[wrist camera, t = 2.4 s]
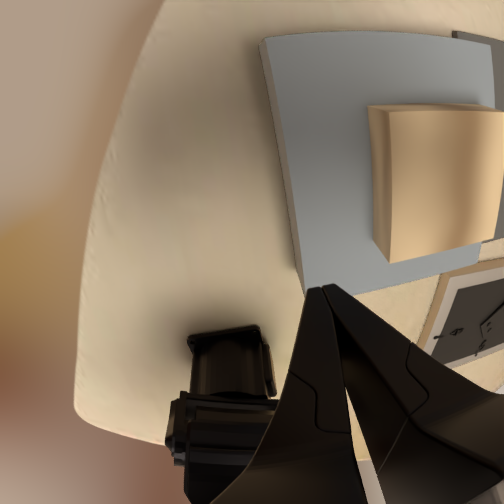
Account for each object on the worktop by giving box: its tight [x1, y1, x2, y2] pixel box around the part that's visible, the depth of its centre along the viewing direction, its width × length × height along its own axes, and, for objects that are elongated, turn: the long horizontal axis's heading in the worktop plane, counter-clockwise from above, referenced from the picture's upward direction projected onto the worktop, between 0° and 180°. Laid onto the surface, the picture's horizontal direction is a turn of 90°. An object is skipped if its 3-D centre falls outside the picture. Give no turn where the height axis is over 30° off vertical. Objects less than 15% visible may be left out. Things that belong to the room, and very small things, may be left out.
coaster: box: [367, 103, 504, 264], centre depth 15 cm, size 8×8×2 cm
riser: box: [259, 31, 495, 297], centre depth 17 cm, size 14×16×4 cm
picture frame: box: [417, 258, 504, 369], centre depth 28 cm, size 16×3×21 cm
